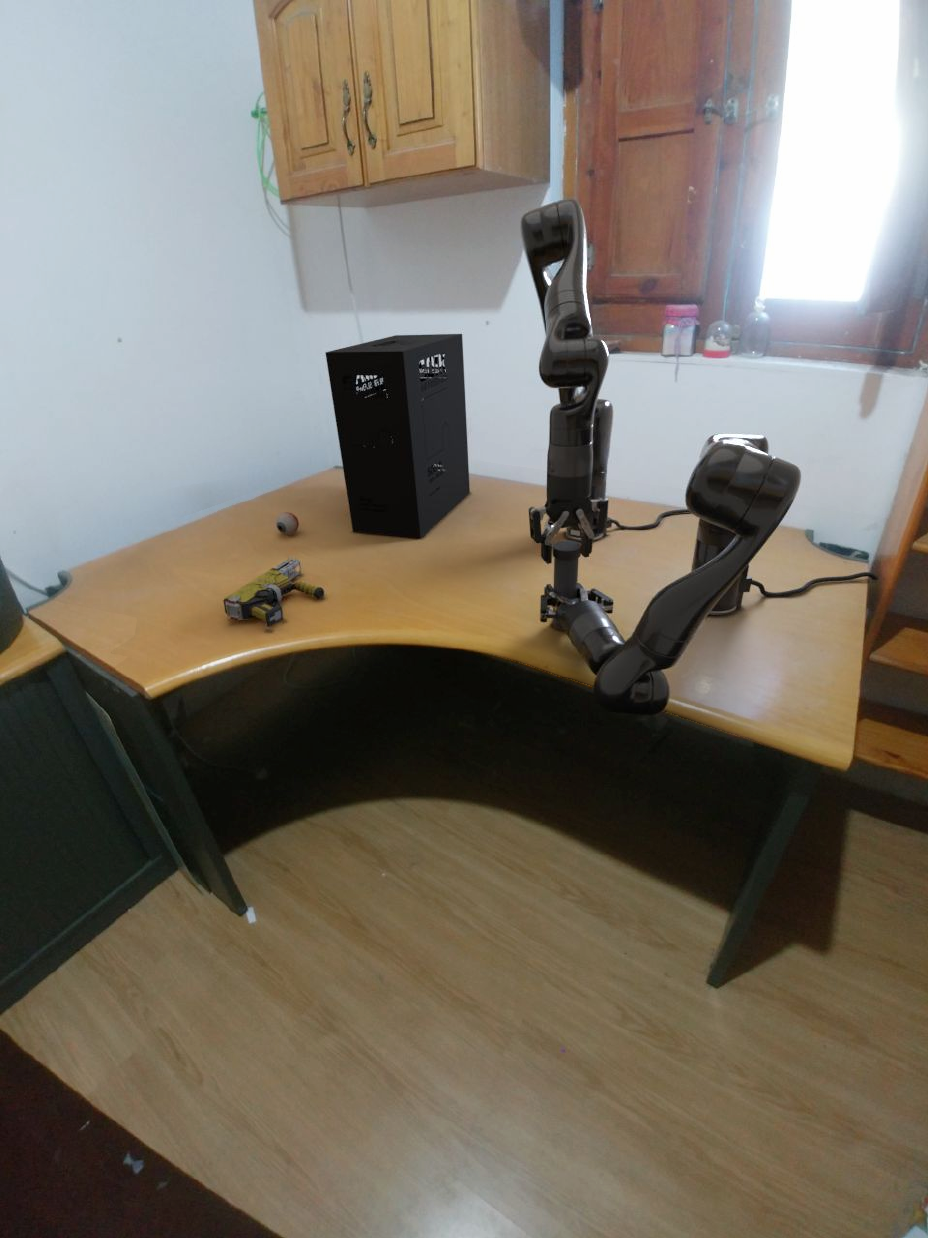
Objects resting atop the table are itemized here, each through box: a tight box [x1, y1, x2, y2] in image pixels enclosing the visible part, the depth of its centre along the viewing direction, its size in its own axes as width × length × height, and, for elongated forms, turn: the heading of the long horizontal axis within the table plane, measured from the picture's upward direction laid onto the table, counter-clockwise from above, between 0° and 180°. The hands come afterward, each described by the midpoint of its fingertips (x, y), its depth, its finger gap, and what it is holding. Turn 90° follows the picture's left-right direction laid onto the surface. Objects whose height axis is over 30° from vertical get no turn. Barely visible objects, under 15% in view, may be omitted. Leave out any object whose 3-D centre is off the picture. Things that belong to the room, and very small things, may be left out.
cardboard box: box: [325, 333, 471, 539], centre depth 165 cm, size 38×20×45 cm, turn 159°
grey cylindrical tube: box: [552, 557, 580, 631], centre depth 112 cm, size 4×4×16 cm
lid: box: [552, 539, 582, 560], centre depth 109 cm, size 5×5×2 cm
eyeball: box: [275, 511, 300, 536], centre depth 163 cm, size 6×6×6 cm
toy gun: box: [222, 557, 325, 628], centre depth 130 cm, size 5×24×15 cm
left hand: (566, 558), depth 109 cm, fingers open, 6 cm apart
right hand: (560, 586), depth 115 cm, fingers closed on grey cylindrical tube, 4 cm apart
